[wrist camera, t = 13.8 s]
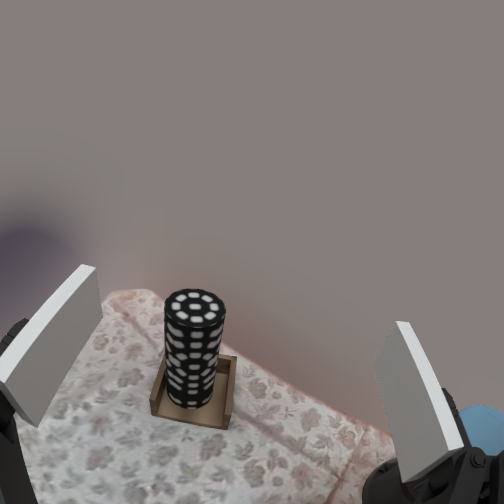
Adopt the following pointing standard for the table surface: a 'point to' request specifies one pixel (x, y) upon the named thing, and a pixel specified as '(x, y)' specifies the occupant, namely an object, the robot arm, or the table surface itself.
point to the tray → (208, 415)
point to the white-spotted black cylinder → (192, 345)
